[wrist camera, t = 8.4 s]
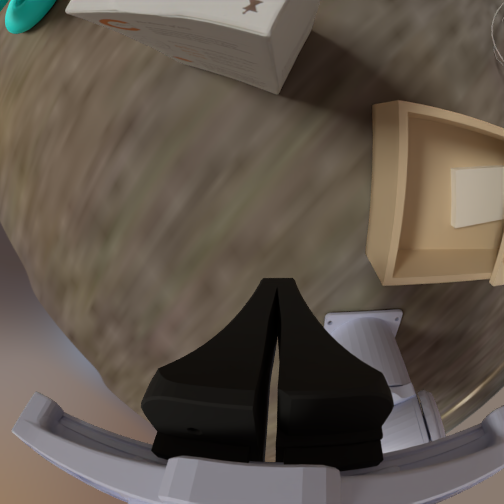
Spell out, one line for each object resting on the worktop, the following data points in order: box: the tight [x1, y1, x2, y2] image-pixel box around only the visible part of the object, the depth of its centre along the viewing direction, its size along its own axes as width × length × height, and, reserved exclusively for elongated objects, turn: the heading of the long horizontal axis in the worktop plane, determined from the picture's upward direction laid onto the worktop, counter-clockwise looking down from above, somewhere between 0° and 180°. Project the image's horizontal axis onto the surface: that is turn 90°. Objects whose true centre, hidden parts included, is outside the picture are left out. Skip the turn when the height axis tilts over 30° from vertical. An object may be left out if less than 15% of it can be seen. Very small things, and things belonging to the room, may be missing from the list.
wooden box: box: [365, 100, 504, 286], centre depth 15 cm, size 12×18×5 cm, turn 94°
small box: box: [65, 0, 320, 95], centre depth 9 cm, size 8×6×13 cm
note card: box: [451, 165, 504, 228], centre depth 16 cm, size 5×7×1 cm
